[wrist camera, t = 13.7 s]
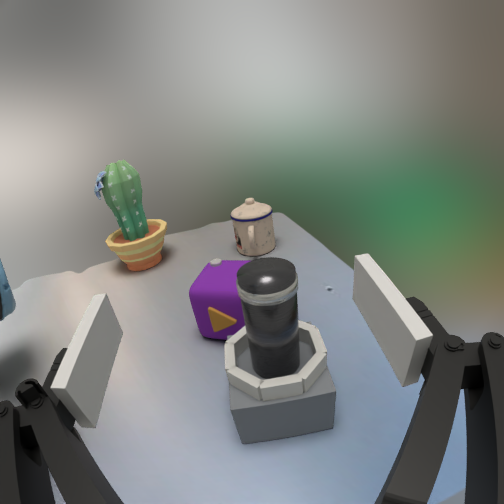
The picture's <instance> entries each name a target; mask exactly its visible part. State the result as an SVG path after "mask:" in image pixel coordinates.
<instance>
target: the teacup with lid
mask: <svg viewBox="0 0 504 504" xmlns="http://www.w3.org/2000/svg"><path fill="white" fill-rule="evenodd" d="M231 218H232V220H233V226H234V232H235V237H236V243H237V249H238V251H239V253H241V254H243V255H246V256H259V255H263V254H266V253H268V252H270V251H272V250H273V249H274V247H275V237H274V229H273V220H272V209H271V207H270V206H269V205H267V204H263V203H259V202H254V199H253V198H247V199H246V200H245V203H244V204H242V205H241V206H239V207H237V208H235V209H234V210H233V211H232V213H231Z"/></svg>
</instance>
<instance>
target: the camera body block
mask: <svg viewBox="0 0 504 504" xmlns="http://www.w3.org/2000/svg"><path fill="white" fill-rule="evenodd" d="M298 323H299V344H300V365H299V368H298V369H297V370H296V372H295V373H293V374H292V375H289V376H283V377H278V378H272V379H265V378H263V377H261V376H259V375H258V374H256V372H255V371H254V369H253V366H252V361H251V355H250V350H249V344H248V339H247V333H246V327H245V326H244V327H243V328H242V329H240V330H239V331H238V332H237V333H236V334H234V335H229V336H227V341H226V344H225V370H226V373H227V377H228V380H229V390H230V410H231V413H232V416H233V419H234V421H235V424H236V427H237V430H238V433H239V436H240V438H241V441H242V444H248V443H256V442H263V441H270V440H276V439H282V438H288V437H293V436H298V435H303V434H308V433H313V432H318V431H322V430H327V429H331V428H333V423H334V412H335V400H336V389H335V386H334V384H333V381H332V378H331V375H330V373H329V370H328V367H327V350H326V348H325V345H324V343H323V340H322V337H321V335H320V332H319V330H318V328H316V326H314V325H312V324H311V322H306V323H305V322H302V321H300V320H298Z"/></svg>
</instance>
